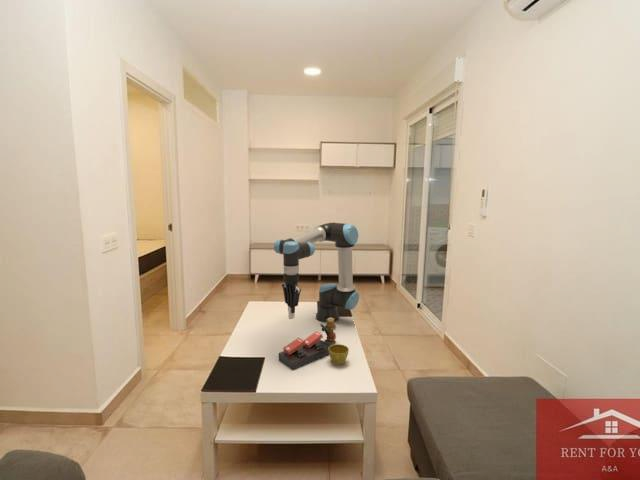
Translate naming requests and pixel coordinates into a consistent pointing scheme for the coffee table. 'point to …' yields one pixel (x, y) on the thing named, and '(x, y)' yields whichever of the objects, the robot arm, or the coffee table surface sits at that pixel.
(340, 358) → the flower pot
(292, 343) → the plate
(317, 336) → the rocker
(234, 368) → the coffee table surface
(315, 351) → the power strip
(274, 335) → the coffee table surface
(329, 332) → the figurine
